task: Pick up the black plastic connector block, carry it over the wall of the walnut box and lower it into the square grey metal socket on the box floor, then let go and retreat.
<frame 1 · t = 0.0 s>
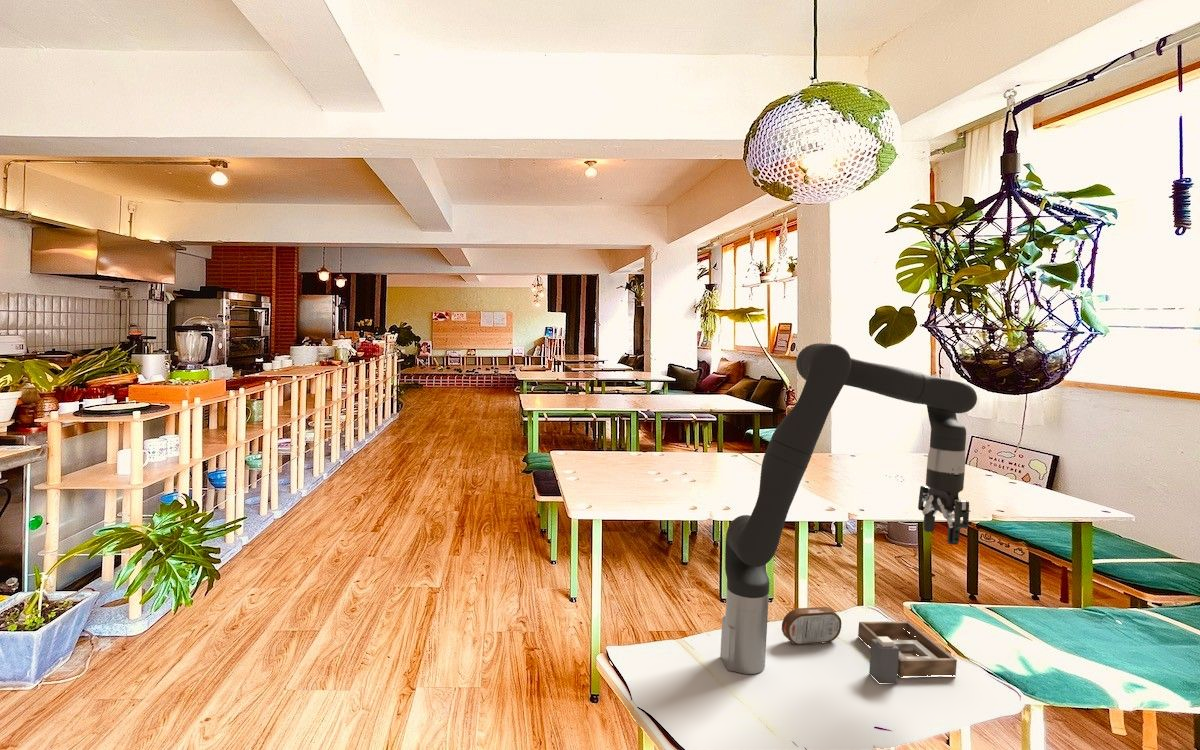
hand: (940, 537, 140), 29 cm above the table, fingers open, 8 cm apart
box: (903, 656, 143), on the table
tin: (811, 643, 148), on the table
connector: (882, 678, 133), on the table
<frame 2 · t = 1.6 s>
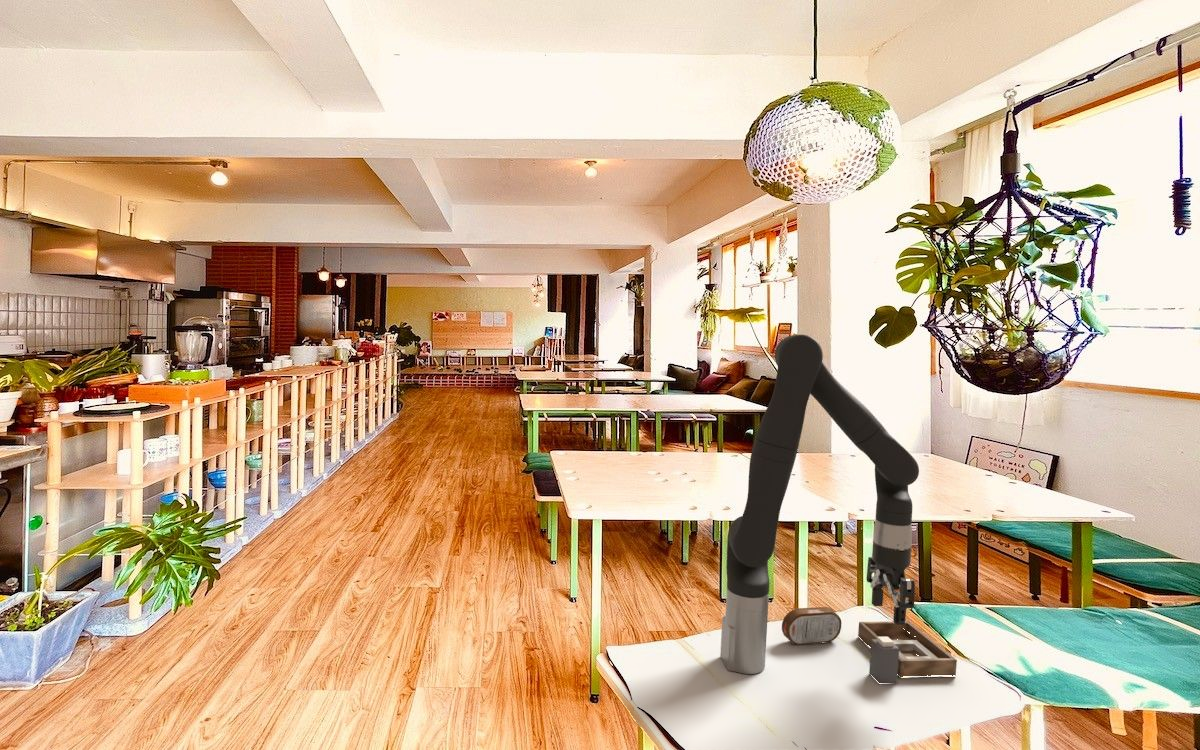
hand: (887, 614, 132), 15 cm above the table, fingers open, 8 cm apart
nothing on the table moved.
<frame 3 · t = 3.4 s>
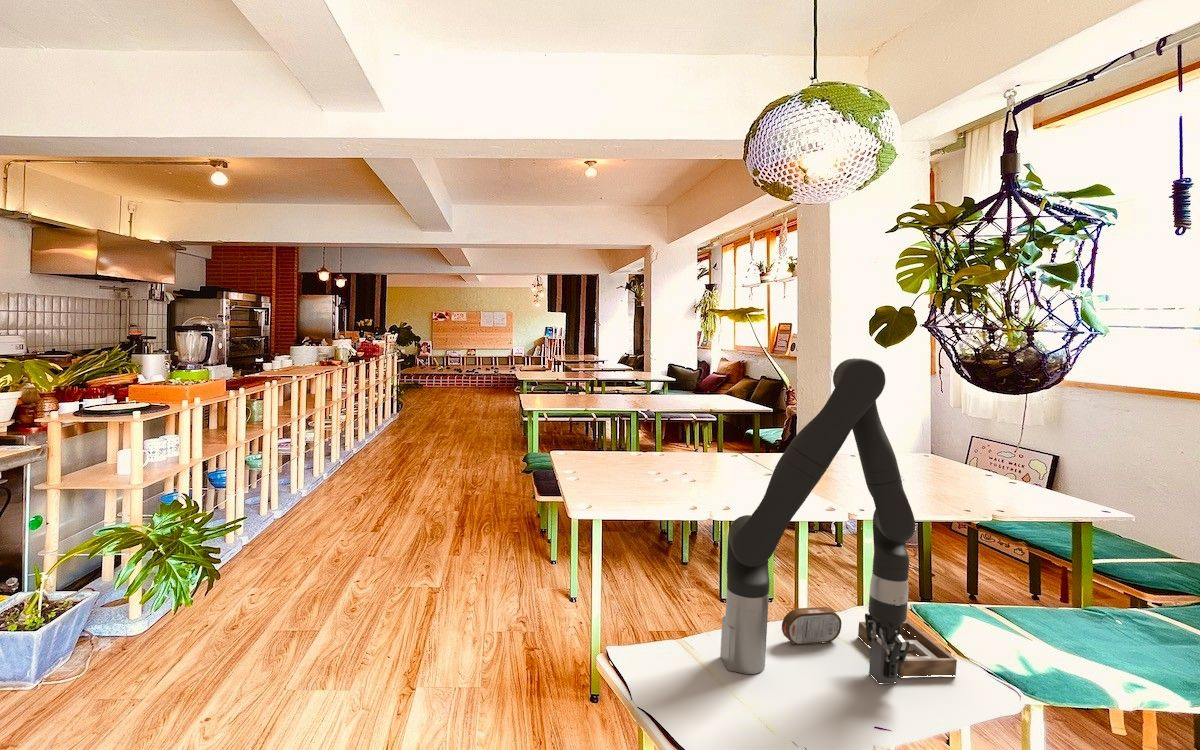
hand: (883, 671, 133), 2 cm above the table, fingers closed on connector, 4 cm apart
connector: (882, 678, 133), on the table, touching gripper
everything else where it was.
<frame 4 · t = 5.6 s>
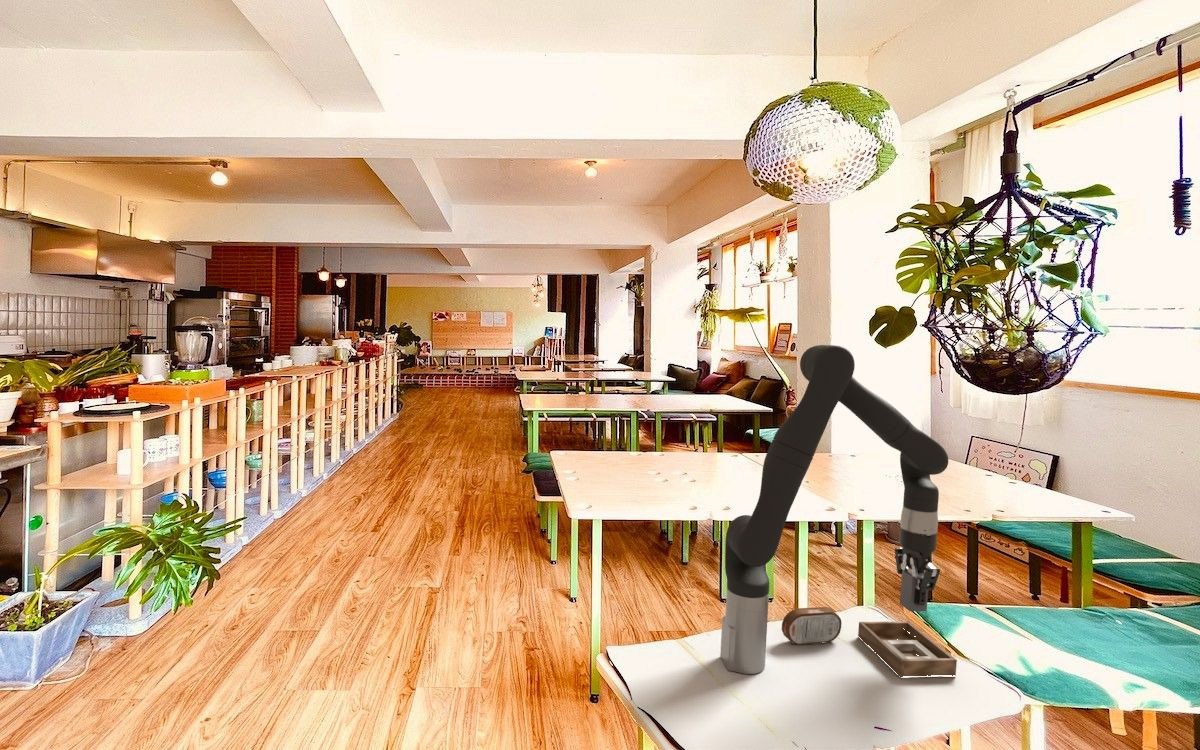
hand: (913, 599, 140), 15 cm above the table, fingers closed on connector, 4 cm apart
connector: (912, 607, 140), point 13 cm above the table, touching gripper
everything else where it was.
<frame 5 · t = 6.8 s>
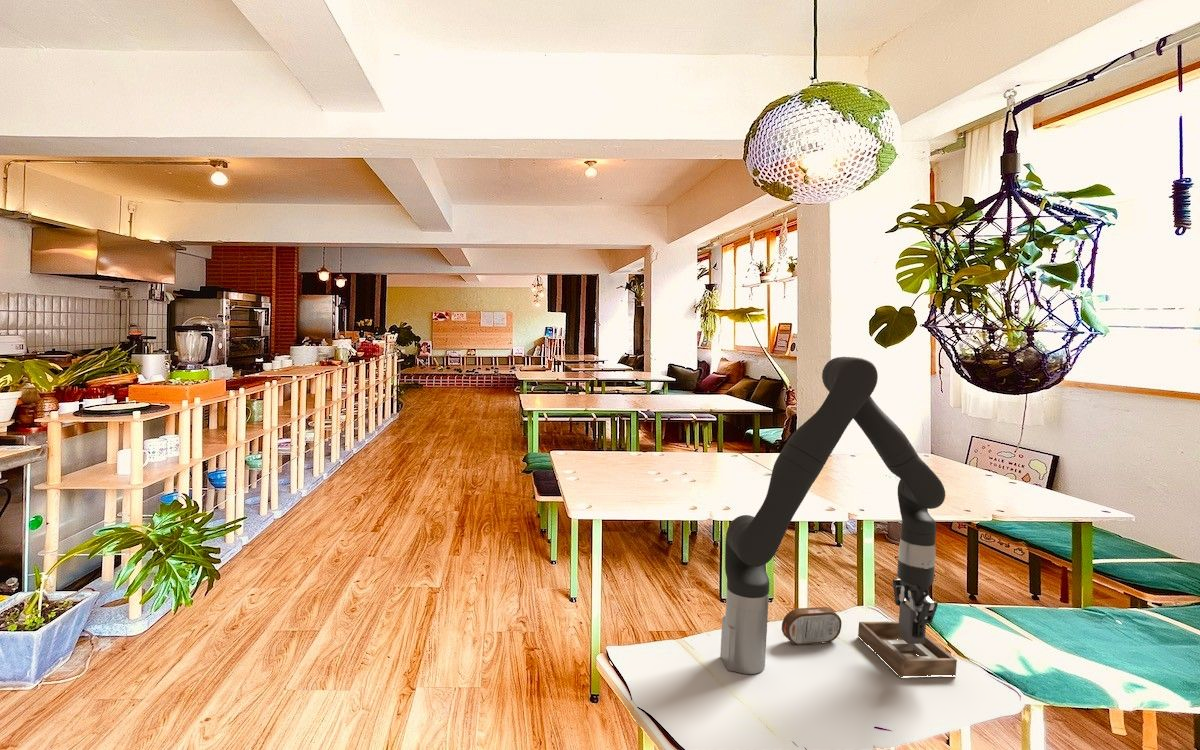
hand: (911, 632, 141), 7 cm above the table, fingers closed on connector, 4 cm apart
connector: (911, 639, 141), point 5 cm above the table, touching gripper
everything else where it was.
when the fingers open (3 cm above the table, at t = 7.8 s): connector stays where it is, resting on box.
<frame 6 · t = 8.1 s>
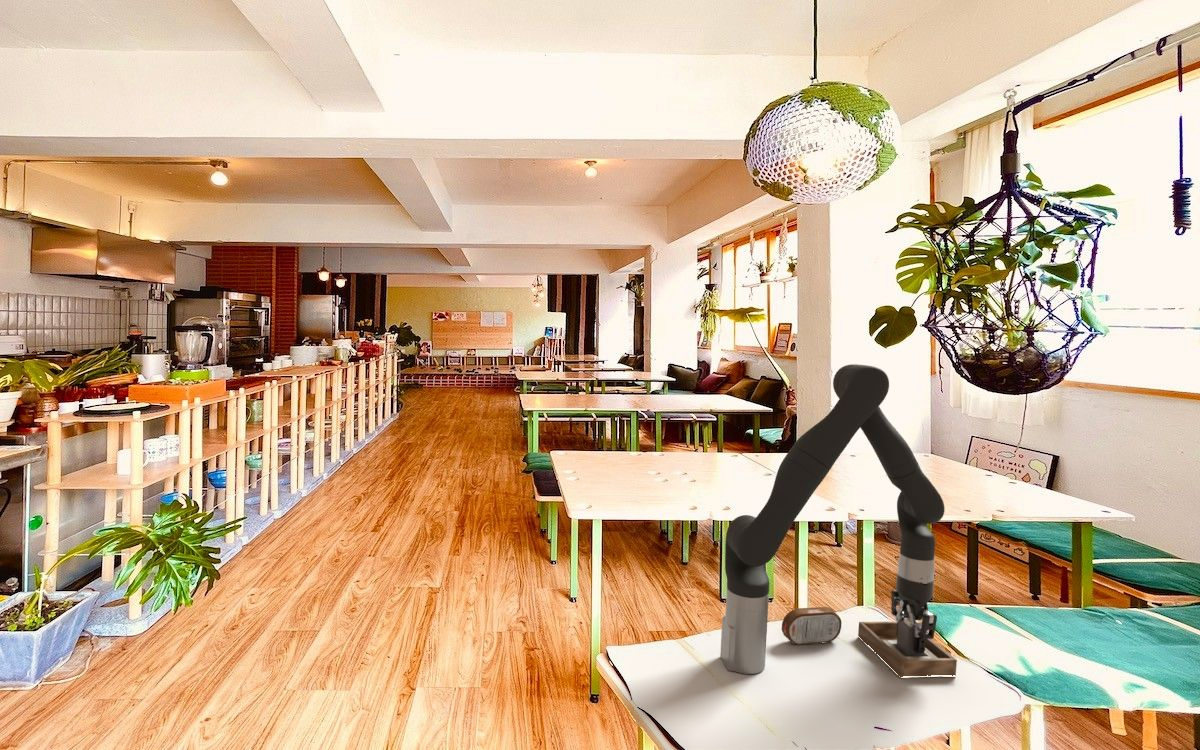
hand: (910, 644, 141), 4 cm above the table, fingers open, 6 cm apart
connector: (909, 657, 141), point 1 cm above the table, touching box
everything else where it was.
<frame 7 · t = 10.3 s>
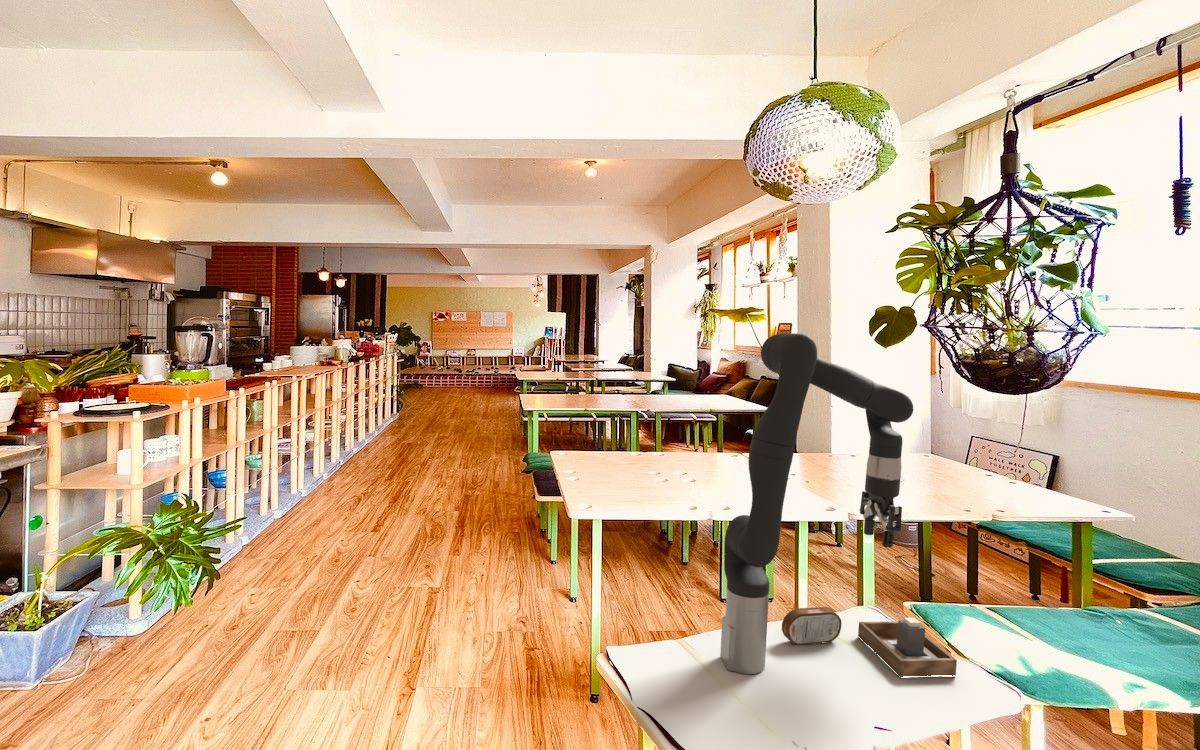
hand: (877, 540, 147), 26 cm above the table, fingers open, 8 cm apart
nothing on the table moved.
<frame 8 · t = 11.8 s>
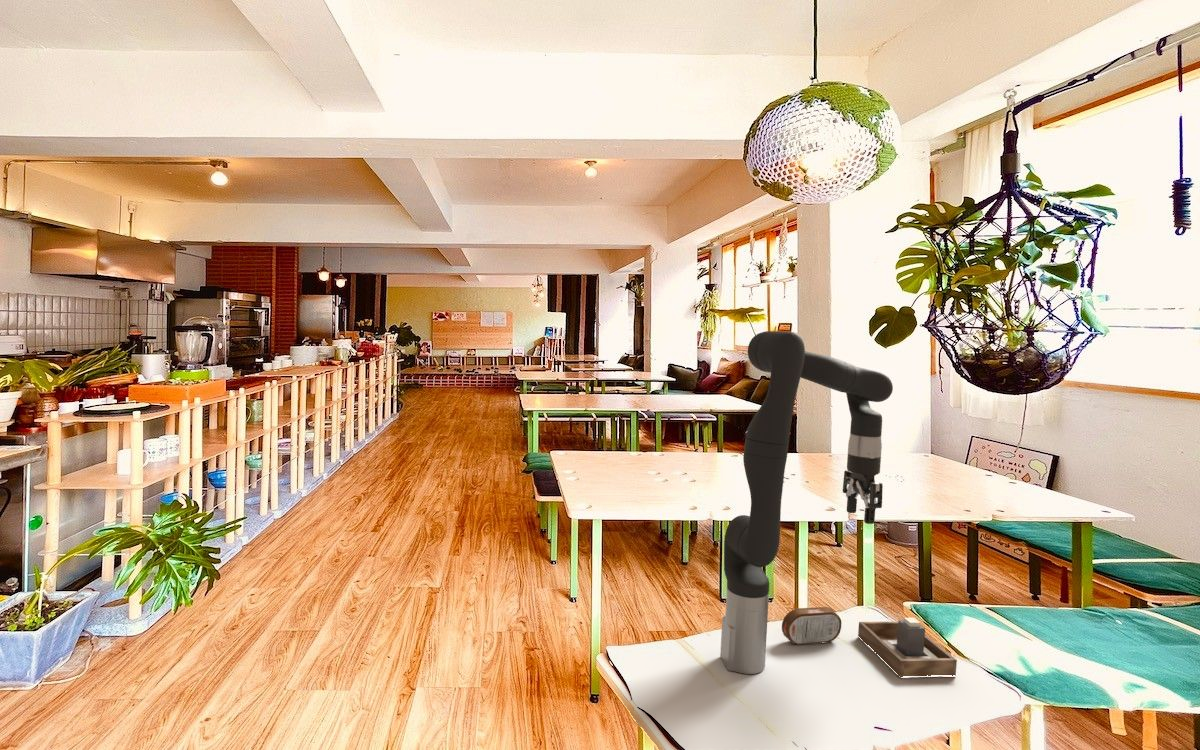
hand: (859, 517, 150), 30 cm above the table, fingers open, 8 cm apart
nothing on the table moved.
at the end: connector 0.0 cm from the target spot on the box, point 0.8 cm above the box's base; connector tilted 0°; the gripper is holding nothing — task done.
